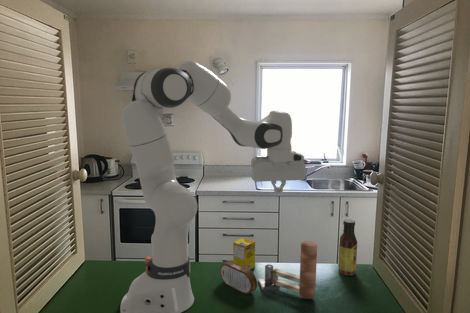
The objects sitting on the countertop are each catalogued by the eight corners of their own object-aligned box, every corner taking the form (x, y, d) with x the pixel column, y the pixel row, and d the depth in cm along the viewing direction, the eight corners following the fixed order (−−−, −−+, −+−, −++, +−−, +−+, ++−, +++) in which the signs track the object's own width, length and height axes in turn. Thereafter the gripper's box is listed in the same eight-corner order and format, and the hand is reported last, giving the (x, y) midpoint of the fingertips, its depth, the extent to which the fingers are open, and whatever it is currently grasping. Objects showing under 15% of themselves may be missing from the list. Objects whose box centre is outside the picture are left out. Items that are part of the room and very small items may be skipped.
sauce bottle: (356, 277, 125) (360, 224, 121) (338, 275, 126) (341, 223, 123) (354, 269, 131) (357, 218, 128) (337, 267, 132) (339, 217, 129)
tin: (257, 295, 113) (257, 271, 112) (251, 299, 111) (251, 274, 110) (224, 279, 124) (224, 256, 122) (218, 282, 121) (218, 259, 120)
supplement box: (255, 268, 131) (255, 241, 129) (245, 274, 127) (245, 246, 125) (243, 263, 135) (243, 237, 133) (233, 269, 130) (233, 242, 129)
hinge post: (262, 290, 116) (262, 271, 115) (258, 281, 122) (258, 263, 121) (279, 289, 117) (280, 269, 116) (274, 280, 123) (275, 261, 122)
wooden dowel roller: (269, 286, 116) (270, 238, 113) (277, 279, 120) (278, 233, 117) (311, 300, 108) (313, 249, 105) (317, 293, 112) (319, 243, 109)
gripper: (253, 157, 122) (253, 195, 124) (308, 156, 126) (307, 193, 128) (249, 154, 128) (249, 191, 131) (302, 153, 132) (300, 188, 134)
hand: (278, 192), depth 129 cm, fingers closed
